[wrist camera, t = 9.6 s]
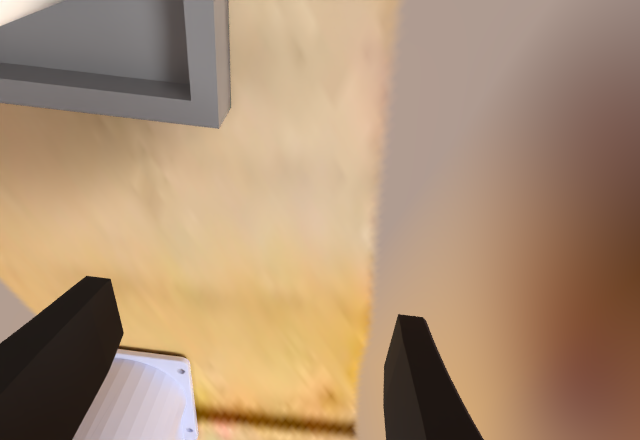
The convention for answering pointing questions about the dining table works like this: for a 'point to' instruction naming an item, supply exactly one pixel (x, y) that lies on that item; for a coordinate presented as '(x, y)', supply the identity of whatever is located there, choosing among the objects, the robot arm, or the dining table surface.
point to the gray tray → (122, 59)
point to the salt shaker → (22, 8)
